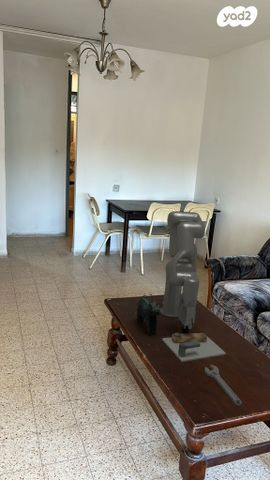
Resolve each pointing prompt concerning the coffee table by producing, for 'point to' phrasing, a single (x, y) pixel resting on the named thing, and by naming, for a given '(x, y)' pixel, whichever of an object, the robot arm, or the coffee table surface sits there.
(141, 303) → the ceramic cat
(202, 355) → the mounting board
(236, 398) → the adjustable wrench
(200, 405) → the coffee table surface
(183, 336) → the tan bar
